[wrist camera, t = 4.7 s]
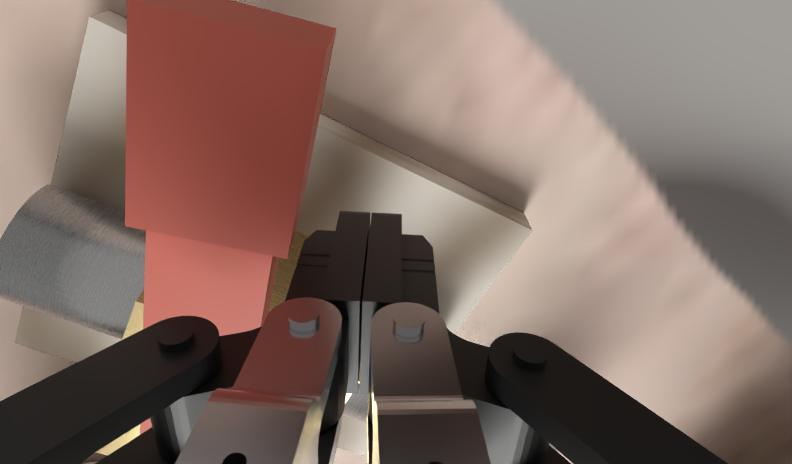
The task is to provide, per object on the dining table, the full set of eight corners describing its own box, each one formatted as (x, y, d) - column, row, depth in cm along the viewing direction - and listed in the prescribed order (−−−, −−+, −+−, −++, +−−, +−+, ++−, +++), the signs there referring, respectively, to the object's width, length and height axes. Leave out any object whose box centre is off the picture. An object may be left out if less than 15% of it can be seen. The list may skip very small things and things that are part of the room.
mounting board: (524, 213, 23) (532, 230, 22) (364, 433, 30) (363, 455, 29) (109, 10, 19) (89, 16, 18) (33, 322, 26) (14, 342, 25)
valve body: (465, 302, 24) (493, 430, 18) (393, 400, 27) (396, 538, 21) (76, 137, 20) (-59, 230, 14) (43, 275, 23) (-81, 402, 17)
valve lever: (262, 467, 18) (240, 564, 15) (154, 452, 18) (111, 549, 15) (354, 23, 11) (345, 55, 8) (178, -25, 11) (105, -8, 8)
